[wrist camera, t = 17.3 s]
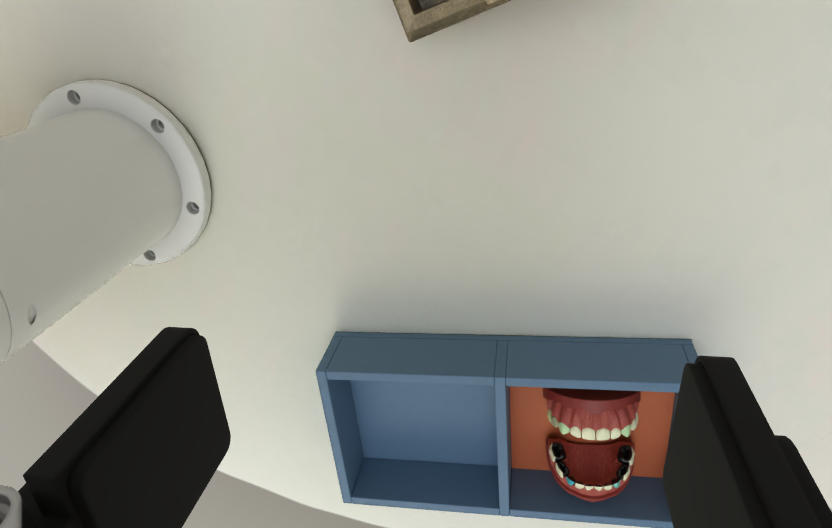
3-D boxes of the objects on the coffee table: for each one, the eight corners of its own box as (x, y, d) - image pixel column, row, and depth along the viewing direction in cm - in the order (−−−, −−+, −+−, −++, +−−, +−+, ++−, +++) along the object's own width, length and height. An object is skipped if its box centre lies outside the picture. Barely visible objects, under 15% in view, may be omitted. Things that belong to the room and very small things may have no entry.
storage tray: (358, 457, 48) (343, 503, 44) (335, 331, 43) (315, 370, 39) (671, 477, 44) (685, 530, 40) (691, 339, 38) (710, 384, 34)
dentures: (547, 513, 40) (546, 409, 36) (543, 460, 44) (541, 362, 40) (645, 516, 39) (655, 410, 35) (632, 462, 43) (639, 361, 39)
